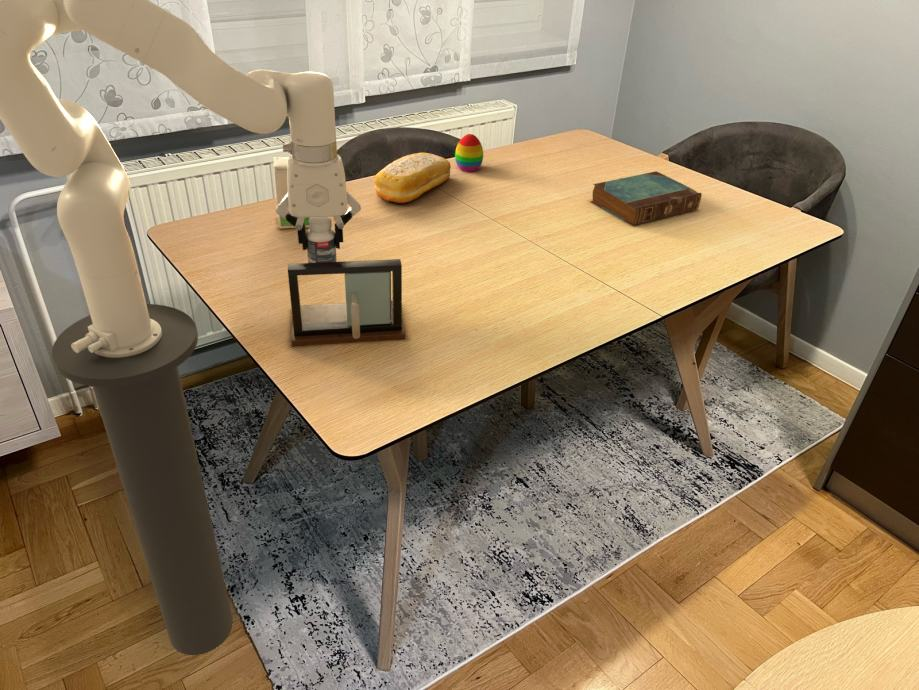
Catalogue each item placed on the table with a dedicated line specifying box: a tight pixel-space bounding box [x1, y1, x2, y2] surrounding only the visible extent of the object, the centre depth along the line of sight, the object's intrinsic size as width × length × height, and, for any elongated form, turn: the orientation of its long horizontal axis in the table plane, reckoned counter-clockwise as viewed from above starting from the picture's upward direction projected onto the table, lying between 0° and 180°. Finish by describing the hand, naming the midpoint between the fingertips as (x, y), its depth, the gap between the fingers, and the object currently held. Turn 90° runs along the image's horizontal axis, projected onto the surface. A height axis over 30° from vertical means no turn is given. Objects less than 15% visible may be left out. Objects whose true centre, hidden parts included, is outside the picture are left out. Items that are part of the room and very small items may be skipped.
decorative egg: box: [454, 133, 484, 172], centre depth 210 cm, size 8×8×10 cm
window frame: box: [287, 258, 406, 347], centre depth 137 cm, size 12×21×15 cm, turn 100°
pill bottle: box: [306, 217, 338, 263], centre depth 133 cm, size 5×5×9 cm
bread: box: [374, 152, 452, 204], centre depth 196 cm, size 13×26×8 cm, turn 154°
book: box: [590, 170, 703, 227], centre depth 194 cm, size 23×18×5 cm
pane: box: [344, 271, 390, 339], centre depth 131 cm, size 7×8×11 cm
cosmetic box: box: [273, 156, 311, 229], centre depth 173 cm, size 8×7×16 cm
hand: (321, 245), depth 134 cm, fingers closed on pill bottle, 5 cm apart
